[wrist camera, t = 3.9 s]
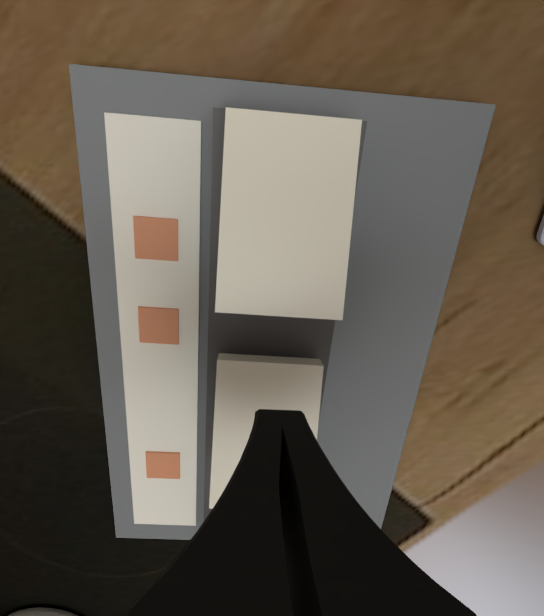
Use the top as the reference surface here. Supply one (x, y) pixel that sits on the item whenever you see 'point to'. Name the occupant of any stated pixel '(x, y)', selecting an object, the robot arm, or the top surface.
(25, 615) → the milk bottle
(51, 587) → the top surface
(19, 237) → the top surface
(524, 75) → the top surface
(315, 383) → the switch middle
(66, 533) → the top surface
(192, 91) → the switch panel
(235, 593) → the robot arm
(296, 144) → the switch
